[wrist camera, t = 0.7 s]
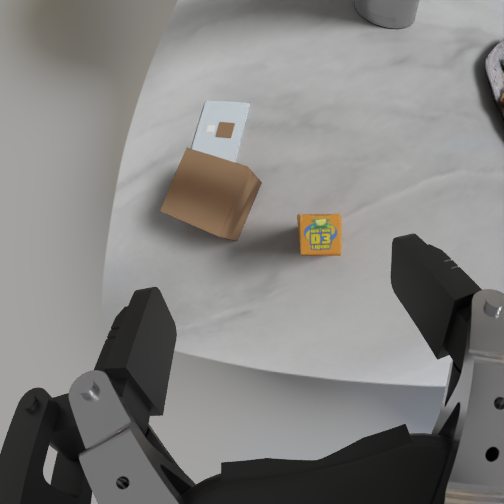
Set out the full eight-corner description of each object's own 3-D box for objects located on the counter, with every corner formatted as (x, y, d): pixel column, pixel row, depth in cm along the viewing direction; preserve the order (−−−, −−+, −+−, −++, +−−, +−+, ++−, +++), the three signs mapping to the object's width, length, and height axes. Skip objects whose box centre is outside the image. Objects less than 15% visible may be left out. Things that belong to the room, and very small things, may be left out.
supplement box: (306, 257, 32) (296, 255, 22) (306, 224, 32) (295, 208, 22) (337, 257, 31) (342, 255, 21) (337, 224, 31) (341, 207, 21)
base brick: (208, 164, 35) (187, 147, 29) (262, 182, 33) (248, 167, 27) (186, 218, 35) (160, 211, 29) (237, 240, 34) (218, 236, 28)
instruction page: (206, 101, 35) (205, 100, 35) (250, 103, 34) (250, 102, 33) (189, 157, 35) (188, 157, 35) (235, 163, 34) (234, 162, 34)
